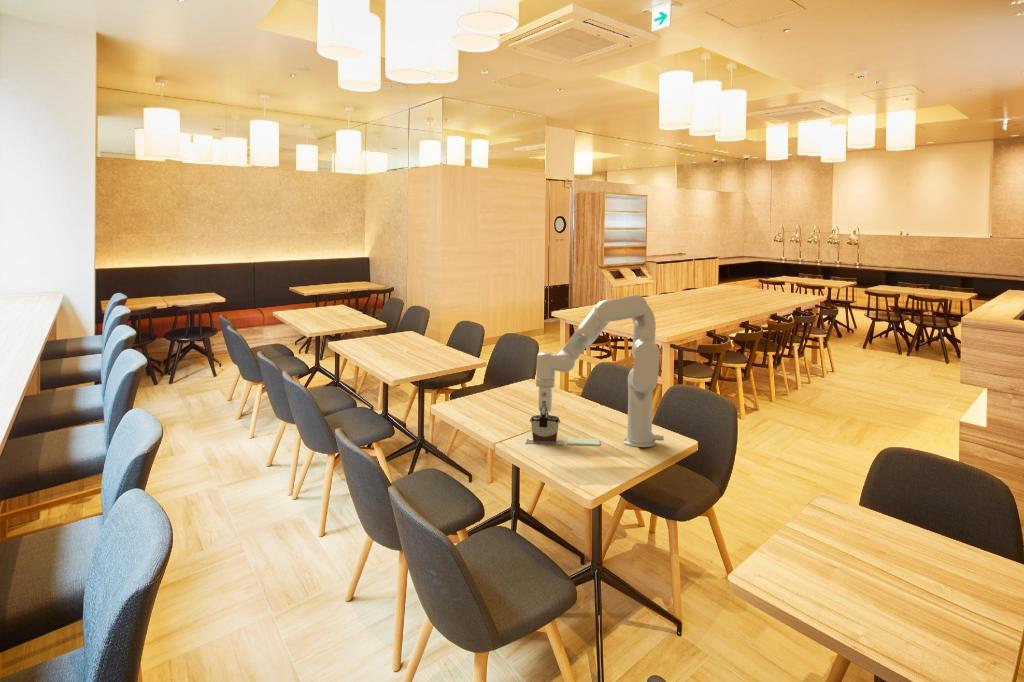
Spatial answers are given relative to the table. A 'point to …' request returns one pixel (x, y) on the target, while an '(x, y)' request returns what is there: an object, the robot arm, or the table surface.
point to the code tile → (558, 442)
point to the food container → (545, 429)
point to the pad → (583, 441)
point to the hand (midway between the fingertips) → (543, 424)
